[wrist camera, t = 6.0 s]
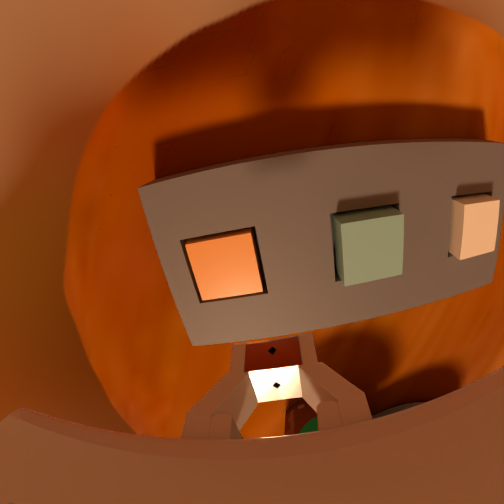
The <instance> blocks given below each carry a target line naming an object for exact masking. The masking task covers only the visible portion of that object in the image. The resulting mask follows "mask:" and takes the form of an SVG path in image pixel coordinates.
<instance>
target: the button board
mask: <svg viewBox="0 0 504 504" xmlns="http://www.w3.org/2000/svg"><path fill="white" fill-rule="evenodd" d="M138 191H139V194H140V198H141V202H142V205H143V209H144V212H145V215H146V219H147V222H148V225H149V228H150V232H151V235H152V238H153V241H154V244H155V247H156V250H157V253H158V256H159V259H160V262H161V265H162V268H163V271H164V274H165V276H166V279H167V282H168V285H169V287H170V290H171V293H172V295H173V298H174V301H175V303H176V306H177V309H178V311H179V314H180V316H181V319H182V321H183V324H184V326H185V329H186V331H187V333H188V336H189V338H190V341H191V343H192V345H193V346H199V345H210V344H220V343H229V342H238V341H246V340H253V339H261V338H268V337H275V336H281V335H288V334H294V333H300V332H306V331H311V330H317V329H322V328H327V327H333V326H338V325H342V324H347V323H352V322H357V321H361V320H366V319H370V318H374V317H378V316H383V315H387V314H391V313H395V312H399V311H402V310H406V309H410V308H414V307H417V306H421V305H424V304H428V303H431V302H435V301H438V300H441V299H445V298H448V297H451V296H454V295H457V294H460V293H463V292H466V291H469V290H472V289H475V288H478V287H481V286H484V285H487V284H489V283H492V280H493V275H494V271H495V266H496V260H497V255H498V249H499V242H500V235H501V227H502V218H503V206H504V143H500V142H495V141H490V140H484V139H468V138H421V139H396V140H380V141H366V142H355V143H345V144H335V145H327V146H319V147H311V148H304V149H297V150H290V151H284V152H277V153H271V154H266V155H260V156H255V157H249V158H244V159H239V160H234V161H229V162H224V163H220V164H215V165H210V166H206V167H202V168H197V169H193V170H189V171H185V172H181V173H177V174H173V175H169V176H166V177H162V178H158V179H155V180H153V181H151V182H149V183H147V184H145V185H143V186H141V187H139V188H138ZM482 193H485V194H487V195H490V196H492V197H494V198H497V199H499V200H500V205H499V217H498V227H497V235H496V242H495V249H494V251H492V252H488V253H485V254H481V255H477V256H474V257H470V258H466V259H463V260H459V259H457V258H456V257H455V256H454V255H452V254H451V253H450V252H449V251H448V249H449V238H450V223H451V197H457V196H465V195H473V194H482ZM390 205H391V206H392V207H394V208H395V209H397V210H398V211H400V212H401V213H403V214H404V247H403V269H402V274H401V275H397V276H392V277H388V278H383V279H379V280H374V281H369V282H364V283H359V284H354V285H349V286H344V285H343V283H342V281H341V279H340V277H339V275H338V273H337V266H336V251H335V239H334V227H333V217H332V214H337V213H344V212H350V211H356V210H363V209H370V208H376V207H383V206H390ZM247 227H252V228H253V233H254V238H255V243H256V248H257V253H258V258H259V263H260V267H261V272H262V278H263V292H257V293H251V294H245V295H238V296H231V297H224V298H217V299H210V300H203V301H202V298H201V295H200V291H199V288H198V285H197V282H196V279H195V276H194V273H193V270H192V266H191V263H190V260H189V257H188V253H187V250H186V247H185V244H186V242H187V241H188V239H189V238H193V237H199V236H204V235H209V234H215V233H220V232H225V231H231V230H236V229H242V228H247Z"/></svg>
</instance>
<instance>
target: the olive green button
mask: <svg viewBox="0 0 504 504" xmlns="http://www.w3.org/2000/svg"><path fill="white" fill-rule="evenodd" d="M332 217H333V227H334V239H335V251H336V266H337V273H338V275H339V277H340V279H341V281H342V283H343V285H344V286H349V285H354V284H359V283H364V282H369V281H374V280H379V279H383V278H388V277H392V276H397V275H401V274H402V269H403V247H404V214H403V213H401V212H400V211H398V210H397V209H395V208H394V207H392V206H391V205H390V206H383V207H376V208H370V209H363V210H356V211H350V212H344V213H337V214H332Z"/></svg>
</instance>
